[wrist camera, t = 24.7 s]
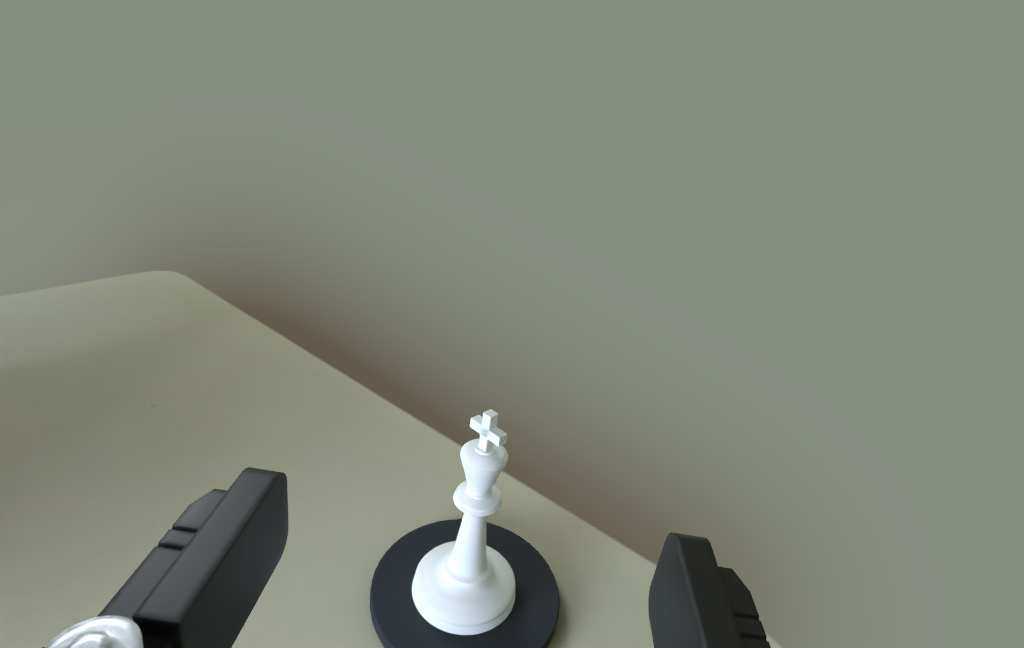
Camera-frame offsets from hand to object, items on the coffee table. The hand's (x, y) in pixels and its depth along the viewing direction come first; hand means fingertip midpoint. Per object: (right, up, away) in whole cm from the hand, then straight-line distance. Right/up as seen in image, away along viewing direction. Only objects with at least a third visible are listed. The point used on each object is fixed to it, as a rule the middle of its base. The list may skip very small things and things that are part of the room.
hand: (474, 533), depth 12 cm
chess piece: (-2, -8, +16) cm, 18 cm away
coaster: (-1, -9, +16) cm, 18 cm away
